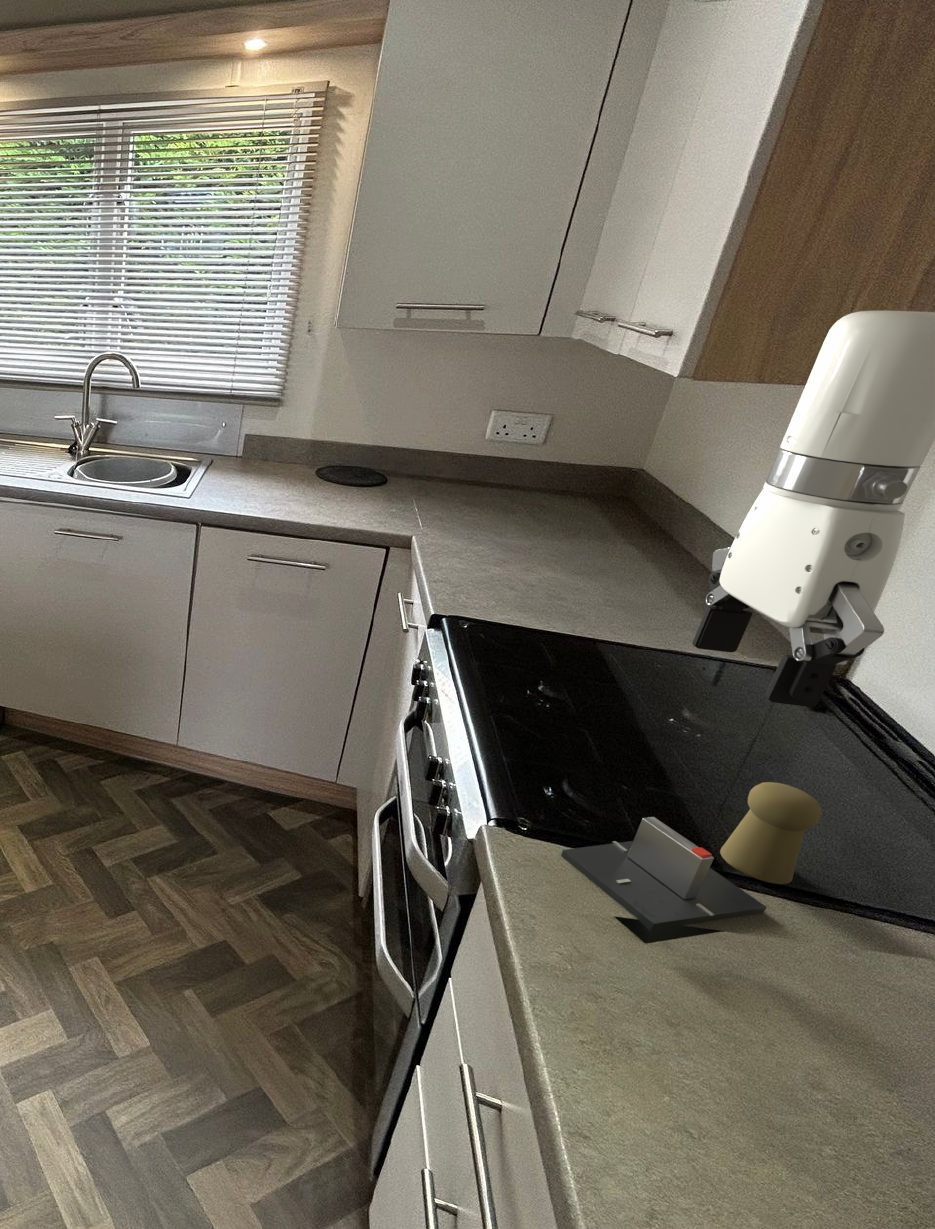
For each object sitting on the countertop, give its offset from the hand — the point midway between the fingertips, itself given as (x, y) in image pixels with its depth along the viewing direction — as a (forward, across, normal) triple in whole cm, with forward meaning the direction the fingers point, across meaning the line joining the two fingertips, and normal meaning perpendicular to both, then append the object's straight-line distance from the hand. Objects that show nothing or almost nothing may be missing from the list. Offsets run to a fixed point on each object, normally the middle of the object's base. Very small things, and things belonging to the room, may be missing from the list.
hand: (748, 674), depth 64 cm
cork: (+27, +9, -14) cm, 32 cm away
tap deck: (+27, +4, -3) cm, 28 cm away
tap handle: (+25, +3, -3) cm, 25 cm away
